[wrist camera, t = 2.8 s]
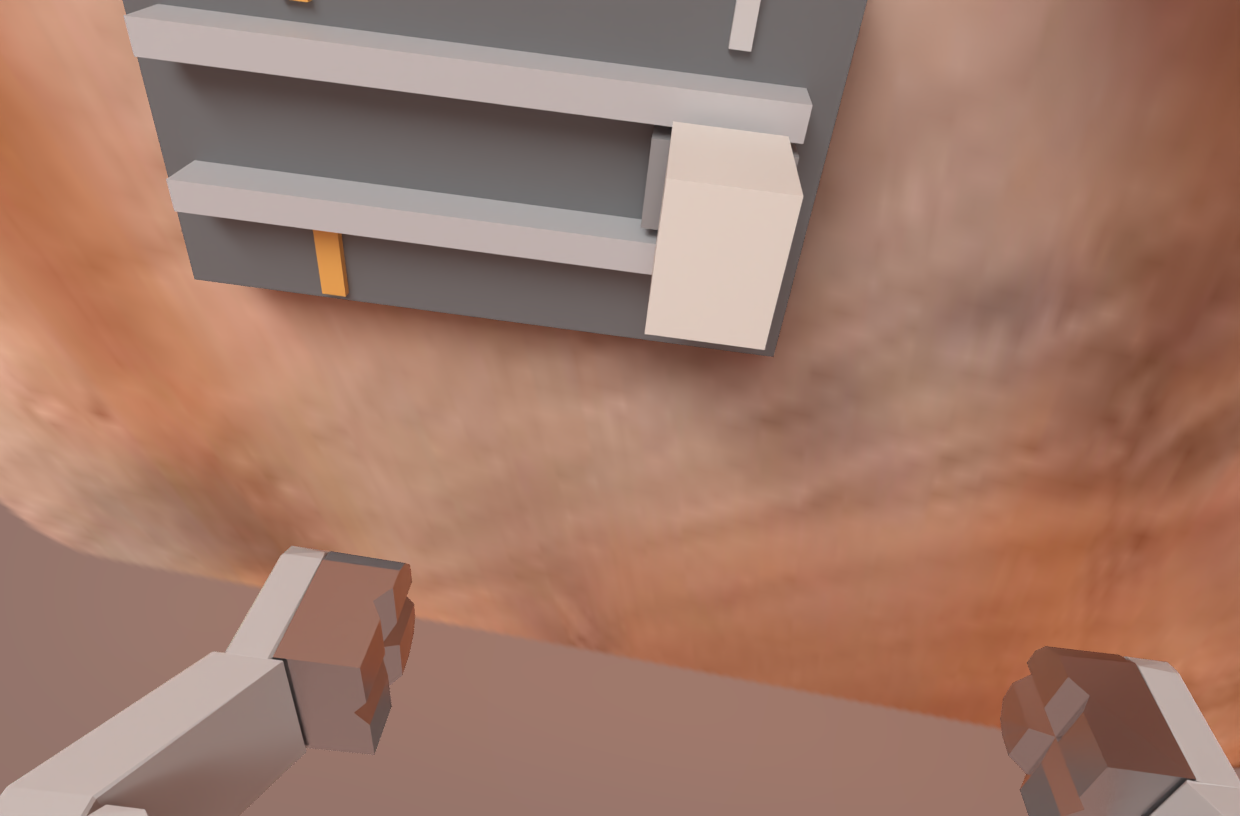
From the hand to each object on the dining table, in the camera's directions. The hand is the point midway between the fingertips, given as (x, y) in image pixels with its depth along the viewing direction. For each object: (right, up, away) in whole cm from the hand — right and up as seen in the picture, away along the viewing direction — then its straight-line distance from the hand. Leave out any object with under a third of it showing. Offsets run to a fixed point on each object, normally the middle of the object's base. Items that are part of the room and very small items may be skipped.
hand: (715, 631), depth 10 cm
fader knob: (+2, +10, +13) cm, 16 cm away
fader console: (-5, +13, +15) cm, 20 cm away
